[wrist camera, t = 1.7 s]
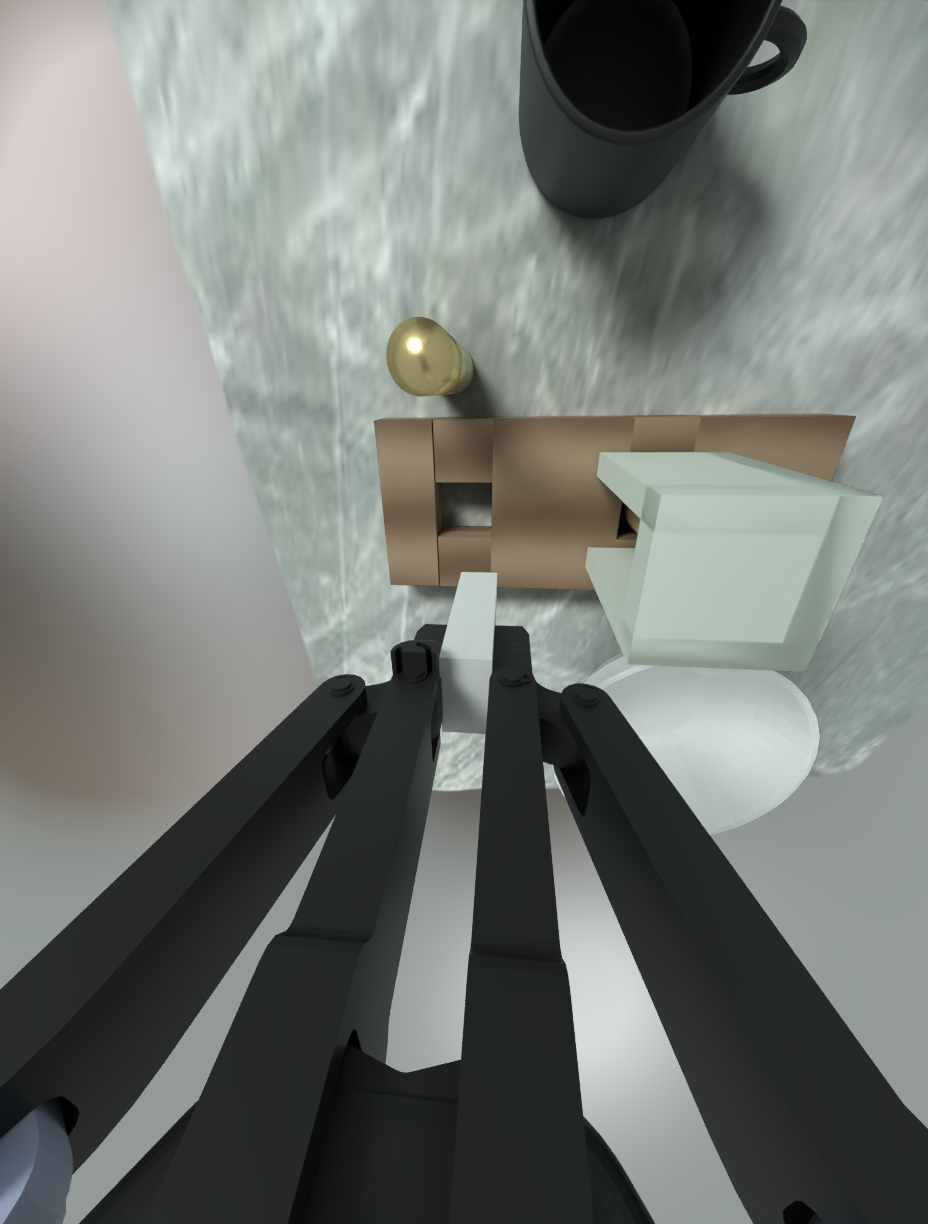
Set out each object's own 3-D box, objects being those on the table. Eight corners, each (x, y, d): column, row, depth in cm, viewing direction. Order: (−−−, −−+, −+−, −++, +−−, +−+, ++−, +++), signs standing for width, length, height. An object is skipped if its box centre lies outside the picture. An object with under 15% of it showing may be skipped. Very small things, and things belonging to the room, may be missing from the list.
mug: (708, 236, 25) (803, 163, 17) (505, 211, 25) (504, 129, 17) (784, -18, 20) (961, -279, 12) (536, -43, 21) (554, -312, 13)
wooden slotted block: (385, 417, 31) (321, 432, 20) (823, 413, 28) (1011, 428, 18) (399, 570, 37) (354, 644, 26) (766, 578, 34) (883, 664, 23)
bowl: (569, 780, 46) (581, 853, 39) (520, 633, 38) (522, 690, 31) (765, 748, 42) (819, 823, 35) (755, 574, 34) (822, 624, 27)
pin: (429, 344, 29) (383, 318, 18) (473, 343, 28) (453, 316, 18) (431, 394, 30) (389, 396, 19) (473, 393, 30) (454, 395, 19)
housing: (599, 452, 28) (661, 494, 17) (728, 452, 27) (883, 496, 16) (585, 566, 31) (627, 664, 20) (697, 569, 31) (806, 671, 20)
